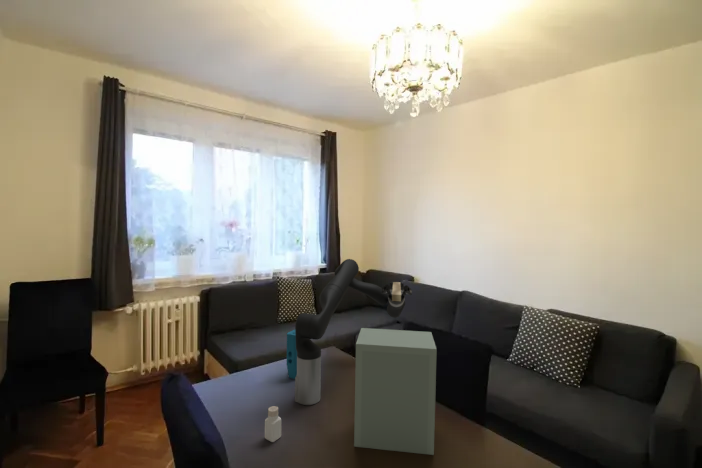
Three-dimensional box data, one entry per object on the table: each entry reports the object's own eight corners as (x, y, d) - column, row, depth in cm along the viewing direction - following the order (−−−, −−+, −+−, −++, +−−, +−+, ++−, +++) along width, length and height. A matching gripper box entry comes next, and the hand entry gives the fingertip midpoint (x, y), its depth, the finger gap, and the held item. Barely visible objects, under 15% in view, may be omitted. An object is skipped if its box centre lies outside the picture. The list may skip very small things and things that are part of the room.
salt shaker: (263, 438, 108) (264, 409, 108) (273, 432, 112) (273, 404, 111) (272, 443, 106) (273, 413, 106) (282, 437, 109) (282, 407, 109)
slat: (392, 300, 124) (392, 294, 124) (392, 287, 150) (393, 282, 150) (400, 301, 124) (401, 294, 124) (400, 287, 150) (400, 282, 150)
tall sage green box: (354, 446, 105) (355, 343, 104) (359, 417, 121) (361, 327, 120) (433, 455, 102) (436, 349, 101) (428, 423, 118) (431, 332, 117)
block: (294, 381, 148) (295, 335, 147) (285, 378, 150) (285, 333, 149) (310, 370, 158) (311, 328, 158) (301, 368, 161) (302, 326, 160)
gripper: (381, 288, 161) (380, 275, 146) (411, 289, 159) (413, 276, 144) (380, 304, 158) (379, 292, 142) (411, 305, 156) (413, 293, 141)
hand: (396, 284), depth 143 cm, fingers closed on slat, 3 cm apart
